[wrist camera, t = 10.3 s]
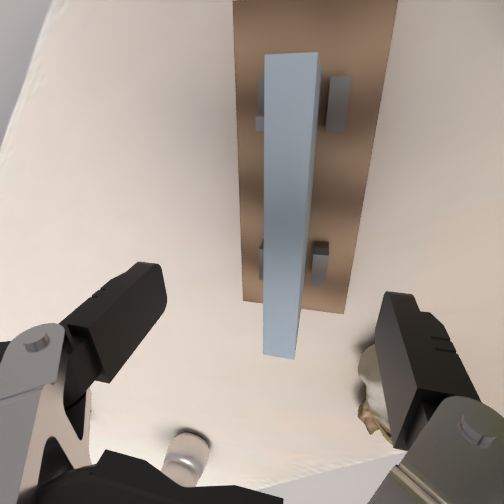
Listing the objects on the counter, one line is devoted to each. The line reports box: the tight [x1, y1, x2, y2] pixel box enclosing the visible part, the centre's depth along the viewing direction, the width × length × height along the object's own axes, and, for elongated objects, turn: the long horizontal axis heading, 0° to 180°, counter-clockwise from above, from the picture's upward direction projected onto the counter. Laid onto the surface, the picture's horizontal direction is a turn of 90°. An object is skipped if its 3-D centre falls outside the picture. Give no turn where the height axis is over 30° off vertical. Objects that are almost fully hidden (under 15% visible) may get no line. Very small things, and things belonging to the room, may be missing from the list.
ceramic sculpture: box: [358, 344, 405, 451], centre depth 29 cm, size 11×9×15 cm
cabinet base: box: [233, 0, 398, 314], centre depth 23 cm, size 24×10×4 cm, turn 1°
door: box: [255, 52, 322, 359], centre depth 19 cm, size 16×3×10 cm, turn 1°
